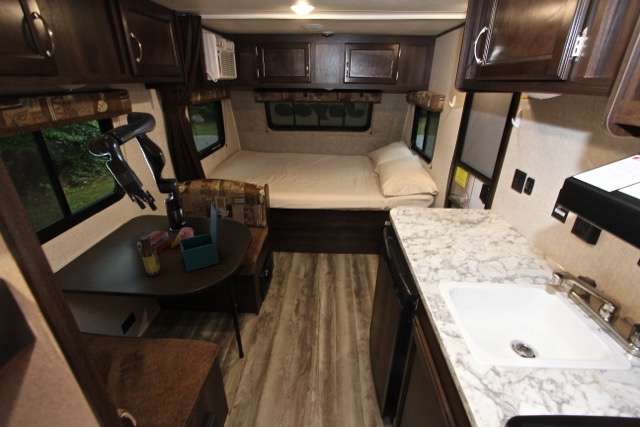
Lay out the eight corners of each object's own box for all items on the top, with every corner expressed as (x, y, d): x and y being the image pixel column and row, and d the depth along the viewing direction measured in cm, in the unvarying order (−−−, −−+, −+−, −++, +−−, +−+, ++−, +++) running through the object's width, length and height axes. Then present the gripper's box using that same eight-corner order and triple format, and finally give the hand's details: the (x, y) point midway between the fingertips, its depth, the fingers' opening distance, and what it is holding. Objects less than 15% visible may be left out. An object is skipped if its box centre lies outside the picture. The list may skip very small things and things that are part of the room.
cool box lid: (216, 212, 141) (227, 212, 144) (211, 203, 151) (221, 203, 154) (215, 242, 147) (225, 241, 150) (209, 232, 157) (220, 231, 160)
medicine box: (157, 242, 171) (154, 230, 167) (170, 243, 170) (167, 231, 166) (139, 256, 157) (136, 243, 154) (153, 257, 156) (150, 244, 153)
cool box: (186, 271, 145) (182, 251, 140) (183, 259, 155) (179, 239, 150) (219, 263, 152) (216, 243, 147) (213, 251, 162) (210, 232, 157)
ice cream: (175, 251, 159) (197, 233, 165) (163, 239, 160) (186, 221, 166) (180, 256, 169) (201, 238, 175) (169, 244, 170) (190, 227, 176)
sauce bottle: (162, 273, 144) (152, 238, 135) (148, 277, 140) (137, 242, 132) (160, 267, 148) (150, 233, 140) (146, 271, 145) (135, 236, 137)
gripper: (145, 175, 126) (165, 205, 135) (126, 175, 132) (146, 203, 142) (130, 185, 121) (152, 215, 130) (111, 184, 127) (134, 213, 137)
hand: (149, 209), depth 136 cm, fingers open, 8 cm apart
